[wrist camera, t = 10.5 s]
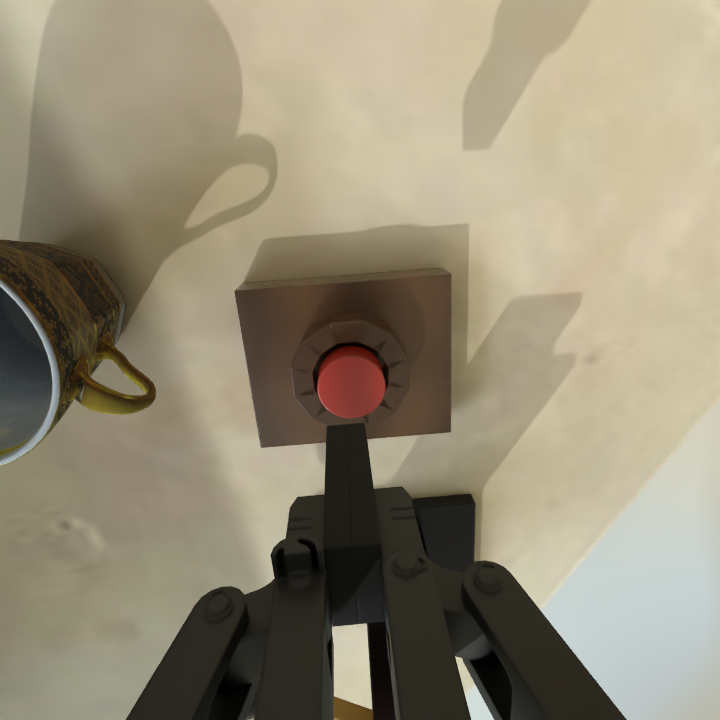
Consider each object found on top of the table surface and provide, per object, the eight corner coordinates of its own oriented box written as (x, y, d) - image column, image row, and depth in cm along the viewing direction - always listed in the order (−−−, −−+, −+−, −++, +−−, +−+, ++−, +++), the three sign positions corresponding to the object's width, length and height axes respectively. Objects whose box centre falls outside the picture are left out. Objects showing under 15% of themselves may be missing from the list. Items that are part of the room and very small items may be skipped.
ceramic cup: (-28, 352, 28) (-215, 435, 18) (-16, 187, 25) (-234, 186, 15) (184, 412, 30) (114, 515, 20) (221, 268, 27) (158, 311, 17)
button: (321, 407, 26) (320, 421, 24) (315, 348, 25) (313, 359, 23) (384, 402, 26) (387, 416, 24) (381, 342, 25) (383, 353, 23)
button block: (266, 430, 30) (255, 464, 27) (242, 282, 27) (226, 298, 23) (443, 416, 31) (458, 447, 27) (443, 267, 27) (459, 280, 23)
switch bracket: (318, 600, 36) (306, 856, 22) (306, 507, 33) (282, 739, 19) (469, 586, 36) (549, 833, 22) (471, 493, 33) (566, 712, 19)
